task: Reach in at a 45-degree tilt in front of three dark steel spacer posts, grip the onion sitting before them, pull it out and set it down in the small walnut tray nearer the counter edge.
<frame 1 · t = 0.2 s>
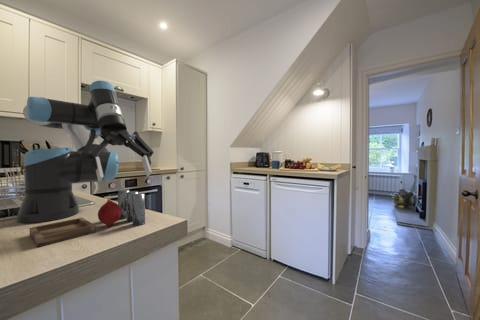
hand: (127, 176, 61), 14 cm above the countertop, tool tilted 30°, fingers open, 13 cm apart
tray: (63, 234, 53), on the countertop
onion: (110, 226, 59), on the countertop
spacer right: (138, 223, 61), on the countertop
spacer left: (124, 217, 67), on the countertop
spacer mid: (132, 220, 64), on the countertop
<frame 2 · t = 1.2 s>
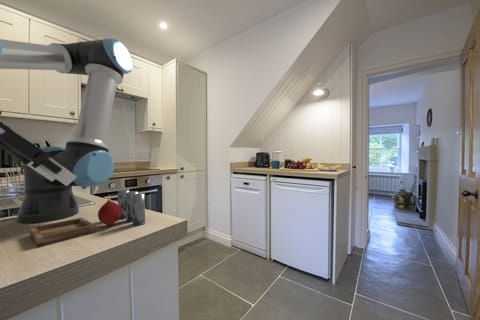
hand: (63, 179, 50), 15 cm above the countertop, tool tilted 45°, fingers open, 13 cm apart
nothing on the countertop moved.
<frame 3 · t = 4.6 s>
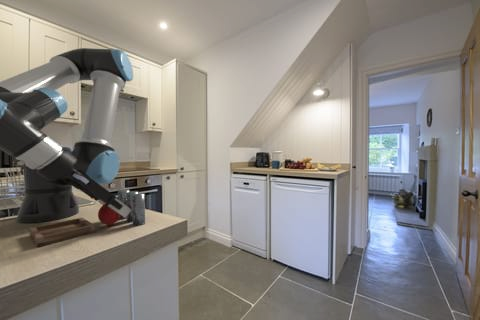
hand: (123, 211, 62), 3 cm above the countertop, tool tilted 45°, fingers closed on onion, 6 cm apart
onion: (110, 226, 59), on the countertop, touching gripper
everything else where it was.
when the fingers open (5 cm above the countertop, at t = 8.9 s): onion drops 1 cm, resting on tray.
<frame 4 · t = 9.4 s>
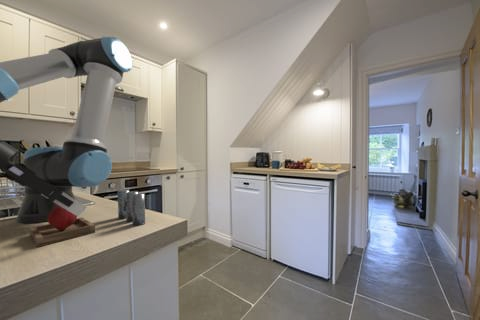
hand: (74, 207, 55), 6 cm above the countertop, tool tilted 45°, fingers open, 12 cm apart
onion: (62, 231, 53), point 1 cm above the countertop, touching tray
everything else where it was.
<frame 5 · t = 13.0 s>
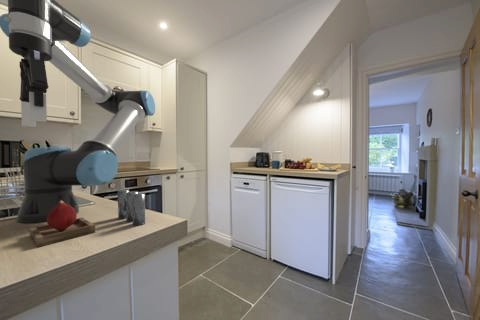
hand: (33, 124, 51), 29 cm above the countertop, tool pointing down, fingers open, 13 cm apart
nothing on the countertop moved.
at the end: onion inside the target area on the tray (0.1 cm from its centre), point 0.6 cm above the tray's base; the gripper is holding nothing; onion moved 10.6 cm from its start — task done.
